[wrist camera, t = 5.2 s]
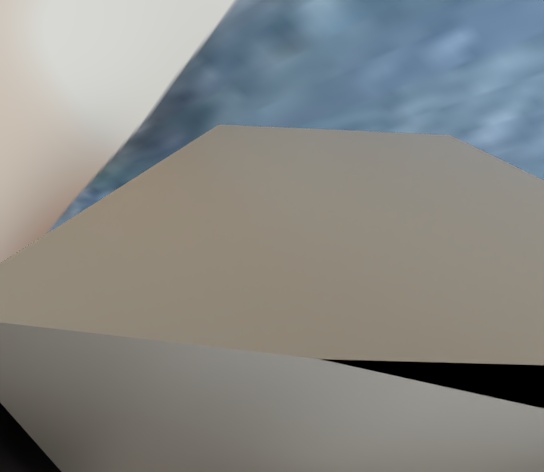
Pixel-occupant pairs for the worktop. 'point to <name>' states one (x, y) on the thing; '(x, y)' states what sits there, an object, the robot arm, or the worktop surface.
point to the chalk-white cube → (288, 312)
